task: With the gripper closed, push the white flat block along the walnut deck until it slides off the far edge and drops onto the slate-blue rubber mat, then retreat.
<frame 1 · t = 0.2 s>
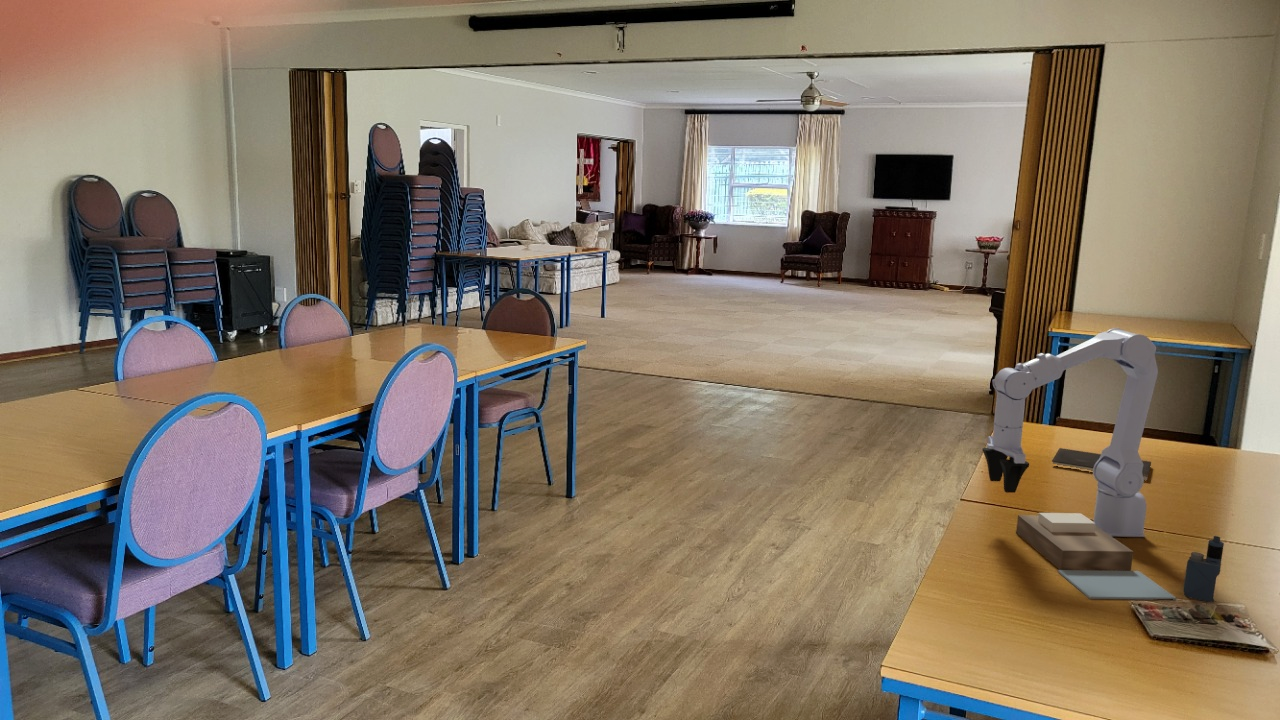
hand: (1002, 486, 202), 10 cm above the table, tool pointing down, fingers open, 7 cm apart
vaping device: (1198, 598, 172), on the table
hardcover book: (1100, 469, 255), on the table
mat: (1115, 585, 176), on the table
deck: (1070, 550, 193), on the table
white flat block: (1065, 527, 195), point 4 cm above the table, touching deck
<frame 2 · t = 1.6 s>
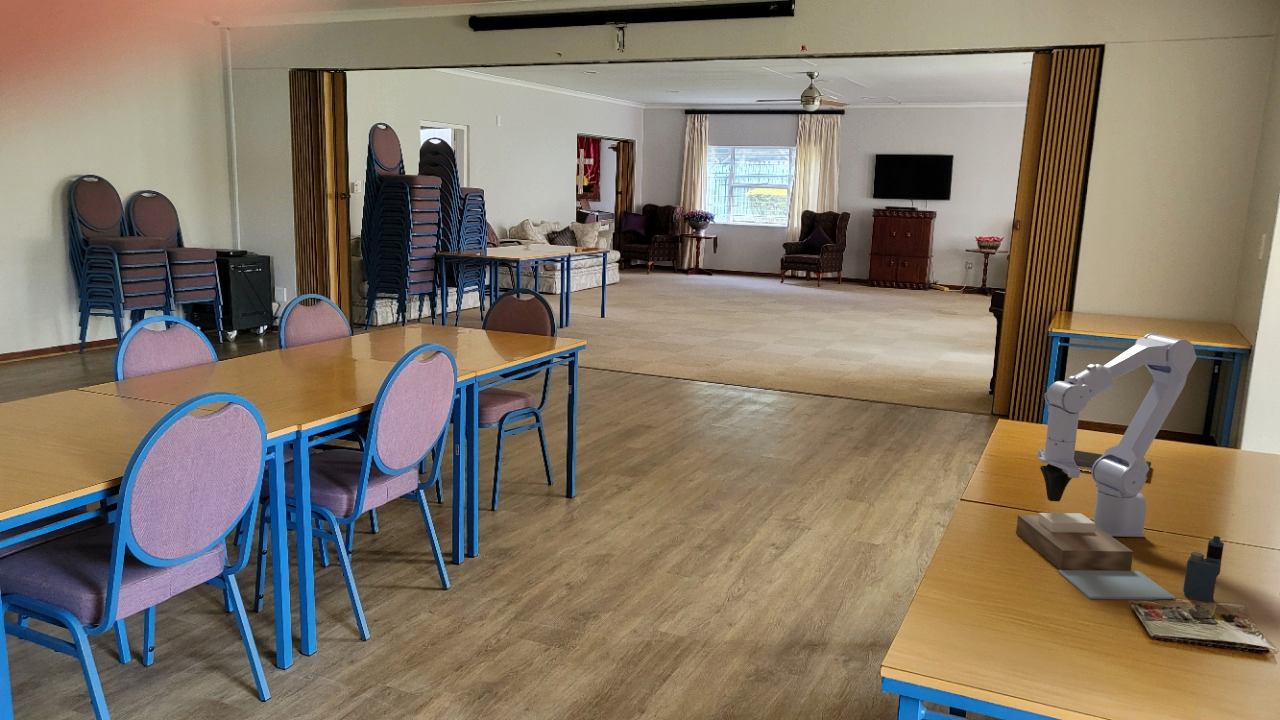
hand: (1053, 500, 200), 8 cm above the table, tool pointing down, fingers closed
nothing on the table moved.
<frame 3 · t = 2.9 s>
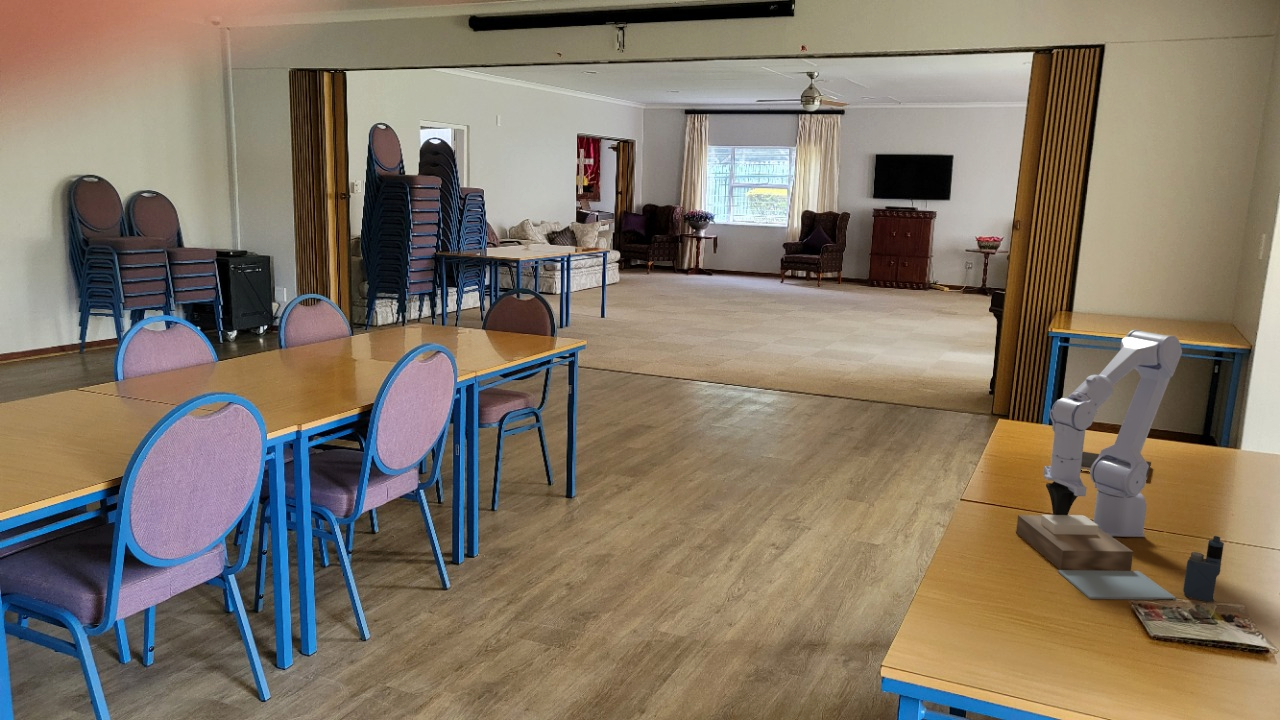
hand: (1059, 518, 198), 5 cm above the table, tool pointing down, fingers closed
white flat block: (1068, 529, 194), point 4 cm above the table, touching deck, gripper
everything else where it was.
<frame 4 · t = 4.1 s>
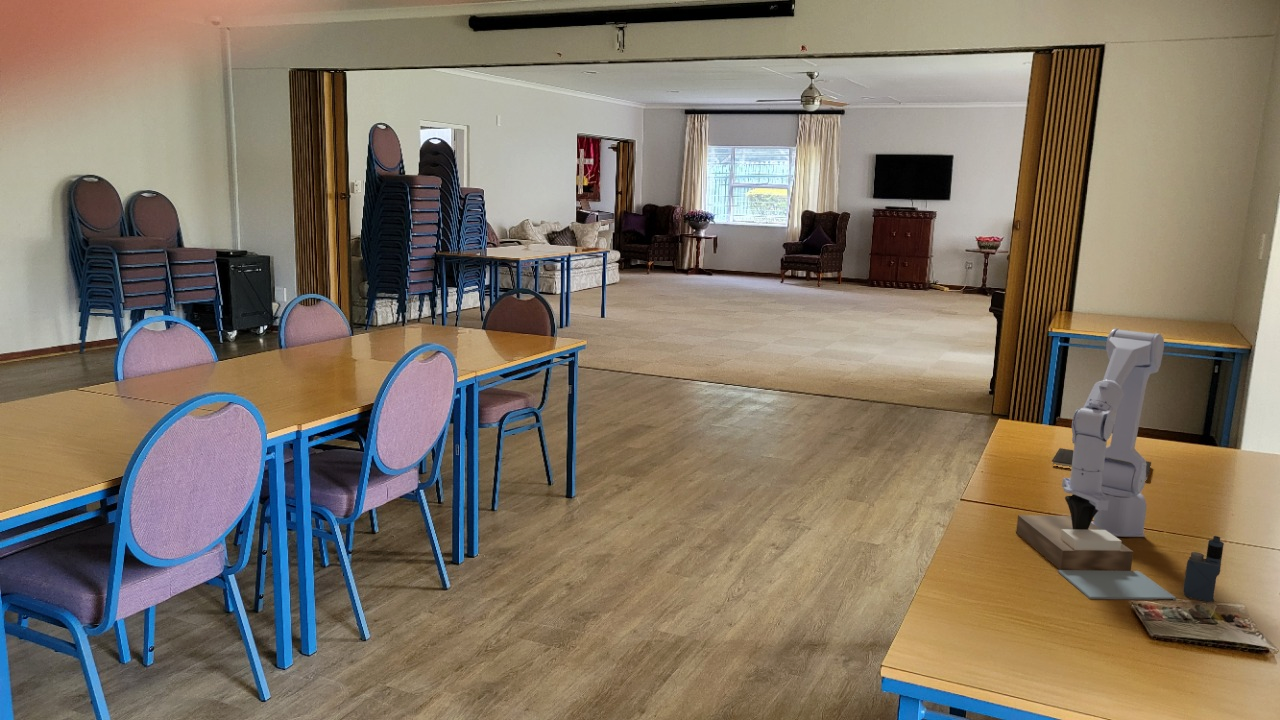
hand: (1079, 532, 189), 5 cm above the table, tool pointing down, fingers closed
white flat block: (1089, 544, 186), point 4 cm above the table
everything else where it was.
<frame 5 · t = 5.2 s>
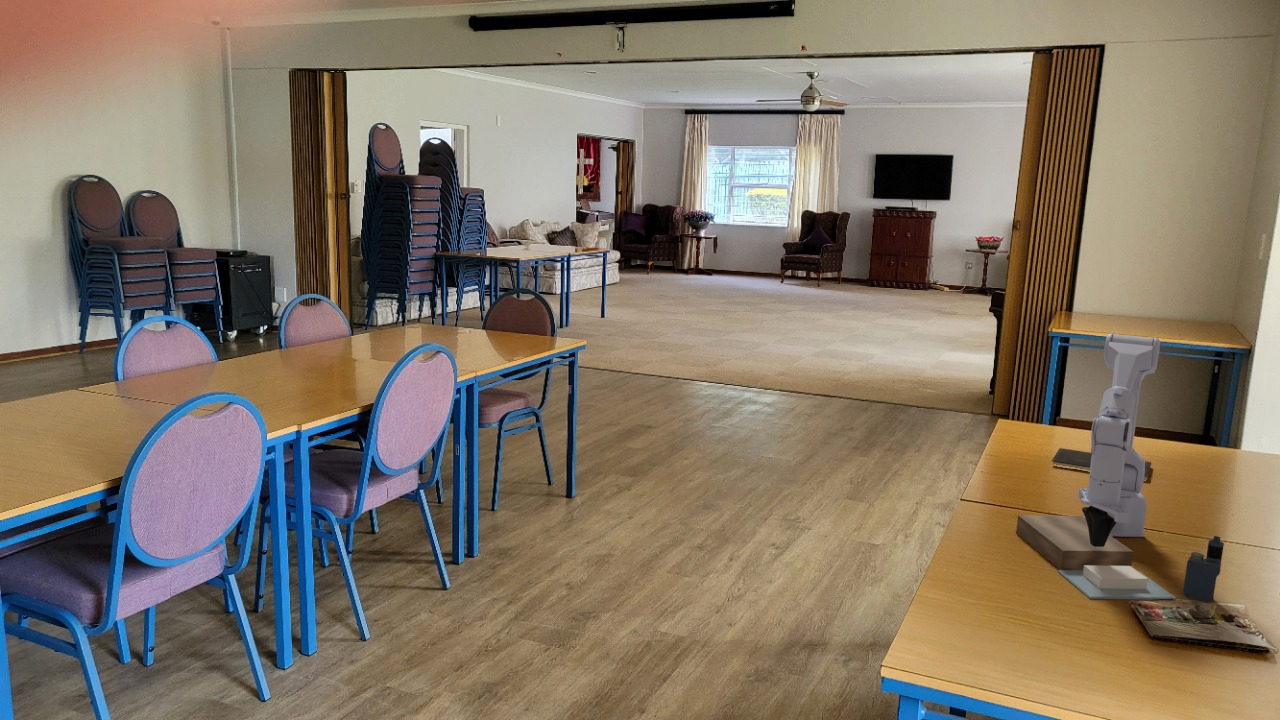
hand: (1097, 545, 183), 5 cm above the table, tool pointing down, fingers closed
white flat block: (1115, 571, 177), point 2 cm above the table, tilted 180°, touching mat
everything else where it was.
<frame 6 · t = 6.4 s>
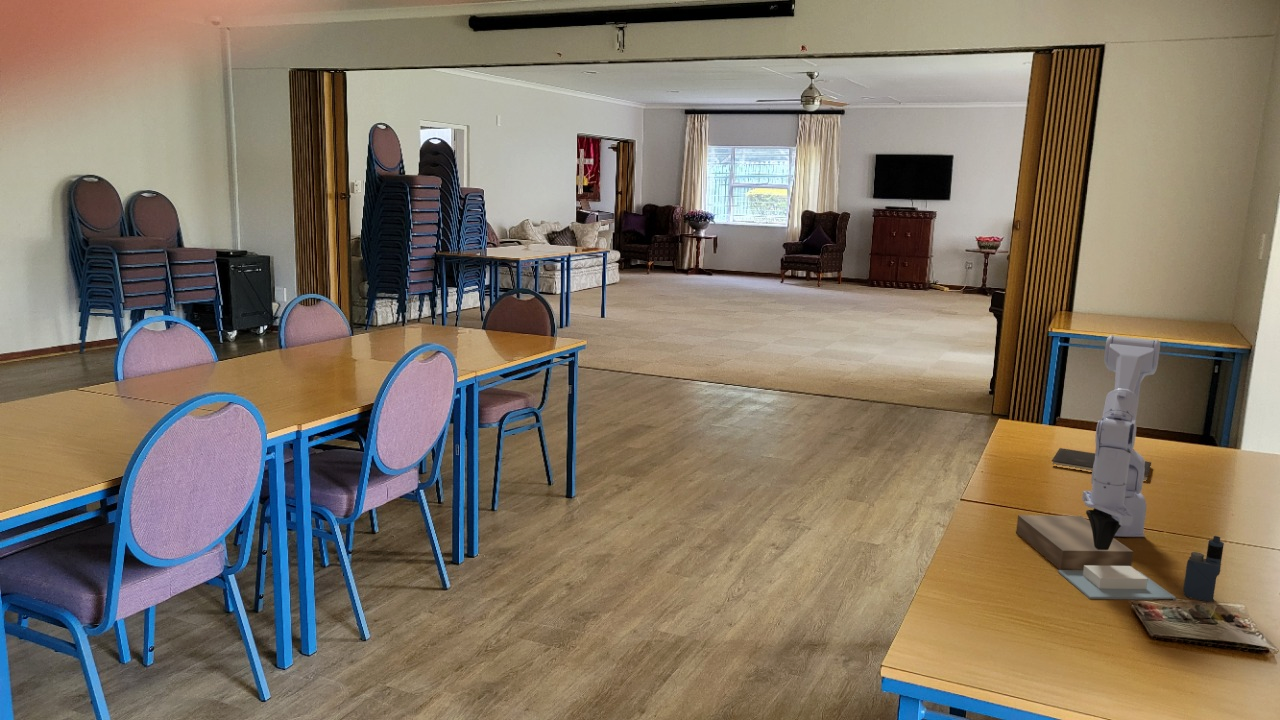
hand: (1101, 548, 181), 5 cm above the table, tool pointing down, fingers closed
nothing on the table moved.
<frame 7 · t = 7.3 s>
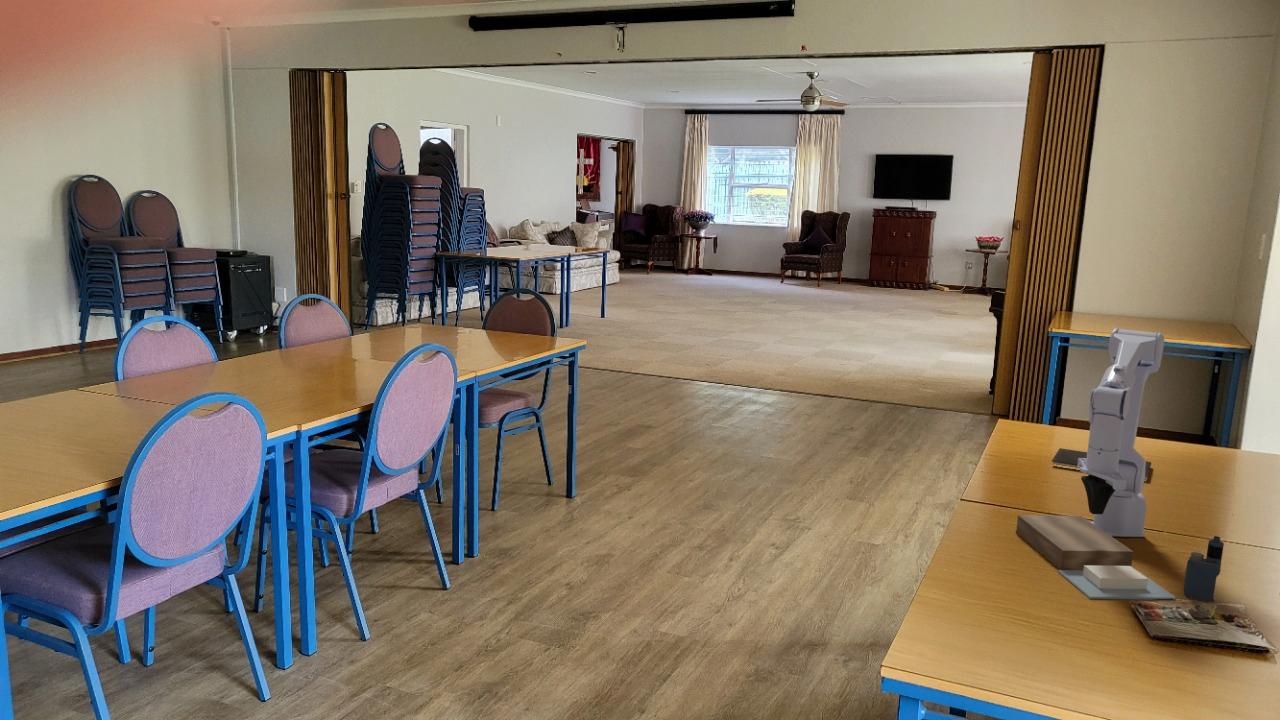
hand: (1096, 513, 187), 10 cm above the table, tool pointing down, fingers closed
nothing on the table moved.
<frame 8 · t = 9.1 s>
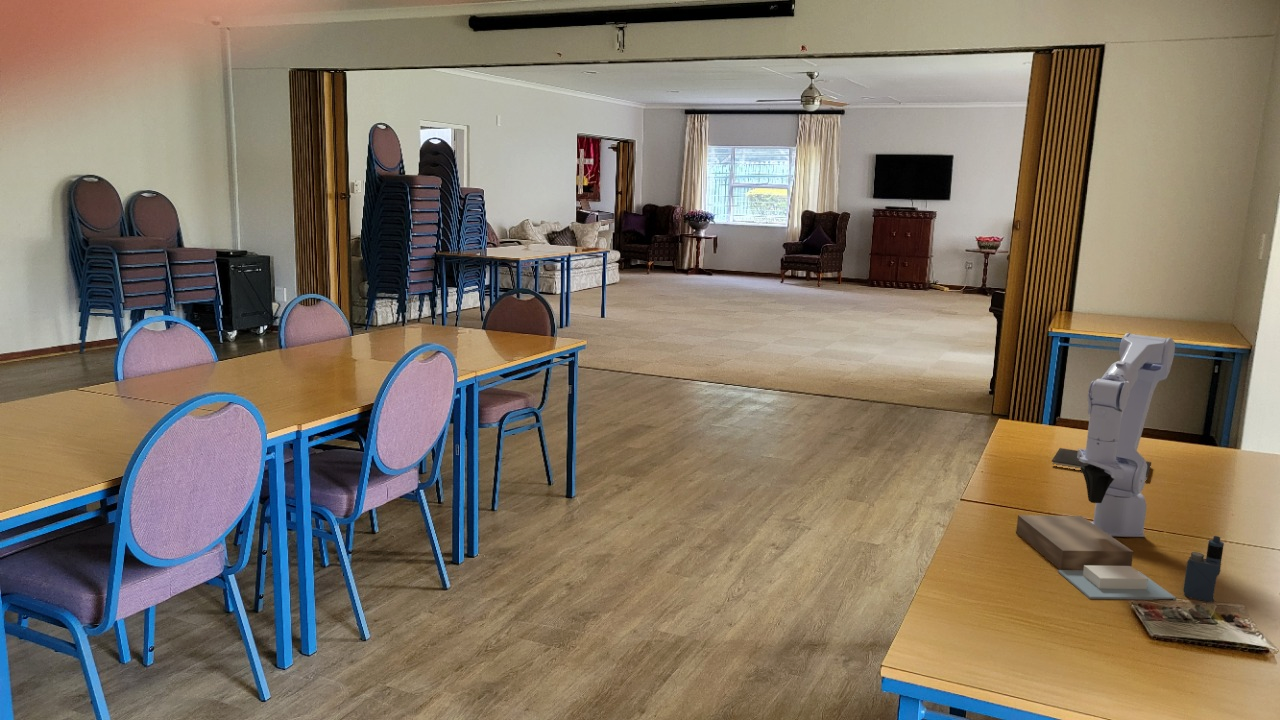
hand: (1095, 501, 193), 10 cm above the table, tool pointing down, fingers closed
nothing on the table moved.
at the end: white flat block point 2.4 cm above the table; white flat block inside the target area on the mat (0.7 cm from its centre), point 2.4 cm above the mat's base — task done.
